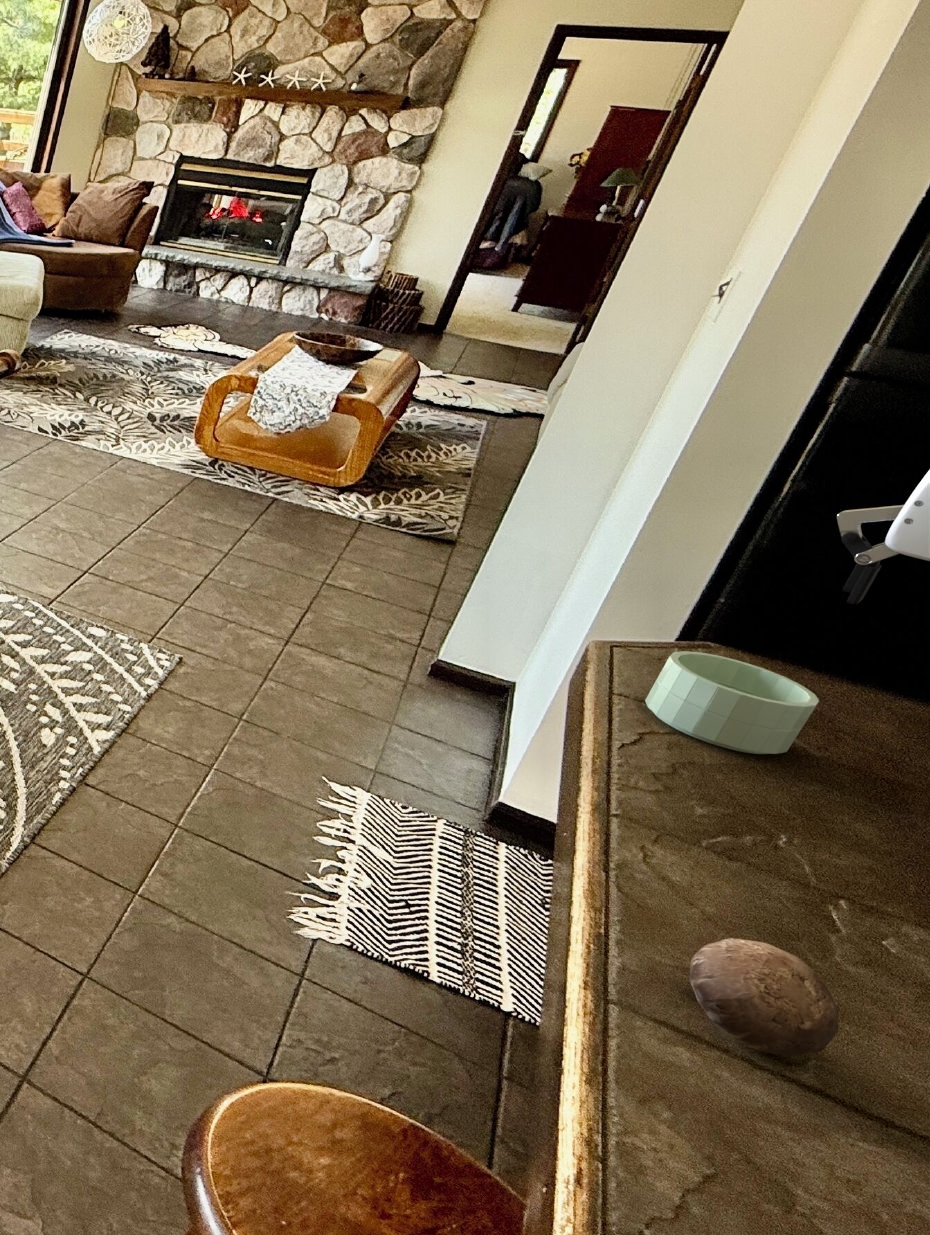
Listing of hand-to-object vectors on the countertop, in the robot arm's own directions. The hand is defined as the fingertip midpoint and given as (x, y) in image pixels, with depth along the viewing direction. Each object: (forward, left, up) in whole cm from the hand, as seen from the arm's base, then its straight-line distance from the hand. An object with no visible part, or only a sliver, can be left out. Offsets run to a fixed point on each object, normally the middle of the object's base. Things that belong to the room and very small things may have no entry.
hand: (926, 620), depth 100 cm
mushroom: (+45, +37, -18) cm, 61 cm away
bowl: (+5, -7, -18) cm, 20 cm away
